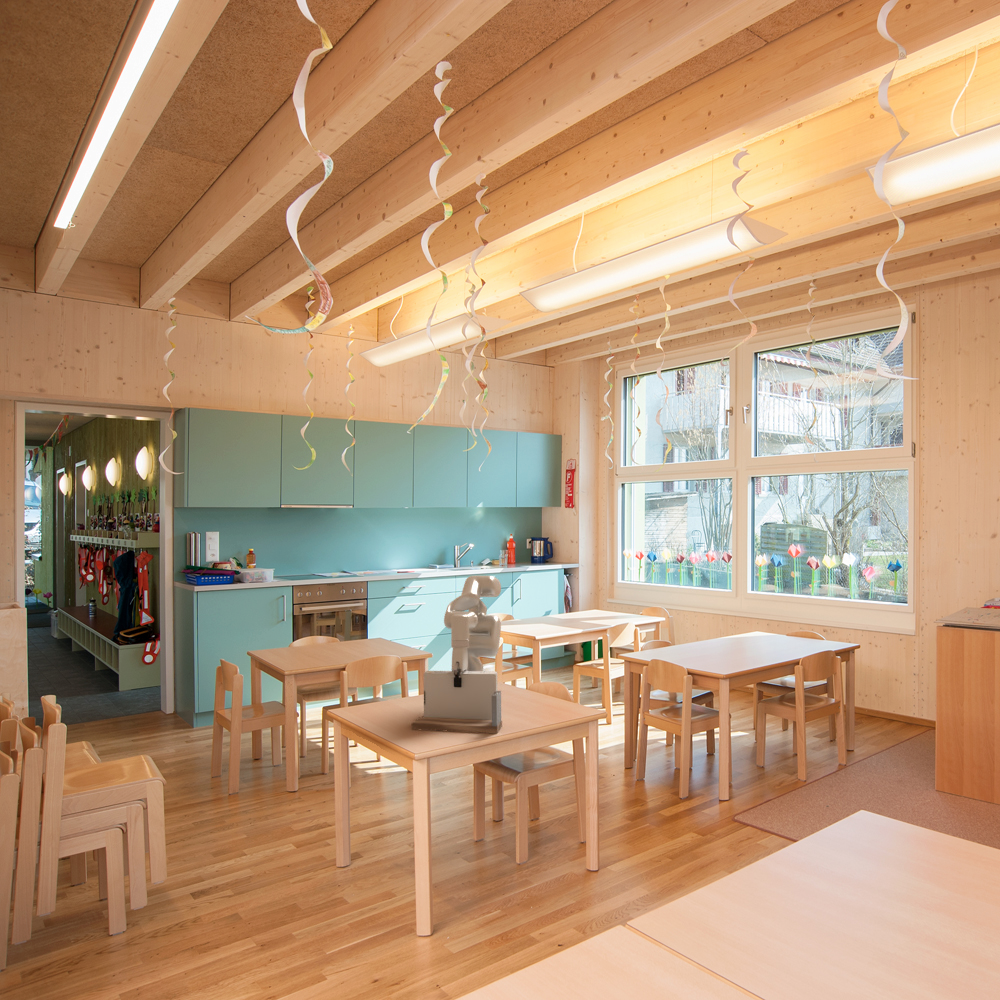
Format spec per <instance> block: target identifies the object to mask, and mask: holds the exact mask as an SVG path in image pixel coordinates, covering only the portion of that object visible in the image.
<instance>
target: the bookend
mask: <svg viewBox="0 0 1000 1000" xmlns="http://www.w3.org/2000/svg"><path fill="white" fill-rule="evenodd" d="M501 720H502V690H498V691H495V693H494V694H493V695H492V726H494V727H497V726H498V724H499V723H500V722H501Z"/></svg>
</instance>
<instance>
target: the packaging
mask: <svg viewBox="0 0 1000 1000" xmlns="http://www.w3.org/2000/svg"><path fill="white" fill-rule="evenodd" d="M461 677H462V687H454V672H452V670H426V671H424V673H423V717H432V718H456V719H479V720H492V695H493V694H494V693H495V691H499V690H498V672H497V671H496V670H493V671H492V670H490V671H489V670H488V671H486V670H485V671H484V670H483V671H463V672H462V673H461Z"/></svg>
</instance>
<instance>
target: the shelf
mask: <svg viewBox="0 0 1000 1000" xmlns="http://www.w3.org/2000/svg"><path fill="white" fill-rule="evenodd" d="M501 727H502V728H503V720H502V719H501V722H500V723H499V724H498V726H497V727H494V726H492V720H479V719H456V718H432V717H424V716H418V718H416V719H414V721H413V722H412V723H411V730H412V729H421V730H420V731H434V730H447V731H446V732H456V731H469V732H468V733H478V732H486V733H485V734H498V733H499V732H500V730H501V729H502V728H501Z"/></svg>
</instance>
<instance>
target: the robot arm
mask: <svg viewBox="0 0 1000 1000" xmlns="http://www.w3.org/2000/svg"><path fill="white" fill-rule="evenodd" d="M501 591H502V585H501V582H500V580H499V578H497V577H495V576H493V575H470V576H468V577H467V578H466V579H465V582H464V584H463V588H462V591H461V595H459V596H458V597H456V598H454V599H453V600H452V601H450V602H449V604H448V605H447V608H446V611H445V613H444V618H443V623H444V626H445V628H447V629H449V630H450V631H451V633H450V635H451V647H450V648H452V653H451V671H452V672H454V687H462V677H461V673H462V672H463V671H484V665H483V663H482V661H481V659H480V657H485V658H486V657H489V658H490V657H491V658H492V657H495V656H497V655H498V654H499V648H500V641H501V633H502V632H501V629H502V625H501V624H502V623H501V619H500V618H499V616H497V615H492V614H491V615H490V614H488V615H487V612H488V607H487V606H486V604H485V603H484V602H483V600H481V598H498V597H499V596H500V594H501Z"/></svg>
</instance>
